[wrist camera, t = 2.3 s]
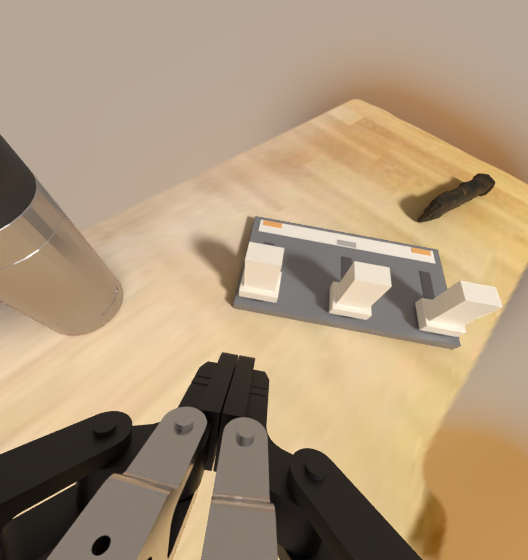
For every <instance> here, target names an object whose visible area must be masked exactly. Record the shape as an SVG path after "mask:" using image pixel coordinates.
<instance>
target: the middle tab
mask: <svg viewBox="0 0 528 560" xmlns="http://www.w3.org/2000/svg"><path fill="white" fill-rule="evenodd" d="M391 287H392V285H391V276H390V268H389V267H384V266H378V265H373V264H368V263H362V262H357V261H354V262H353V264H352V265H351V267H350V268H349V270H348V271H347V273H346V274H345V276H344V277H343V279H342V280H341V281H340V283H339V282H334V281H333V283H332V284H331V286H330V296H329V313H332V314H337V315H342V316H348V317H353V318H358V319H364V320H367V319H368V318H369V317H371V316H372V313H371V306H372V305H373V304H374V303H375V302H376V301H377V300H378V299H379V298H380V297H381V296H382V295H383V294H384V293H385V292H386V291H388V290H389V289H390V288H391Z"/></svg>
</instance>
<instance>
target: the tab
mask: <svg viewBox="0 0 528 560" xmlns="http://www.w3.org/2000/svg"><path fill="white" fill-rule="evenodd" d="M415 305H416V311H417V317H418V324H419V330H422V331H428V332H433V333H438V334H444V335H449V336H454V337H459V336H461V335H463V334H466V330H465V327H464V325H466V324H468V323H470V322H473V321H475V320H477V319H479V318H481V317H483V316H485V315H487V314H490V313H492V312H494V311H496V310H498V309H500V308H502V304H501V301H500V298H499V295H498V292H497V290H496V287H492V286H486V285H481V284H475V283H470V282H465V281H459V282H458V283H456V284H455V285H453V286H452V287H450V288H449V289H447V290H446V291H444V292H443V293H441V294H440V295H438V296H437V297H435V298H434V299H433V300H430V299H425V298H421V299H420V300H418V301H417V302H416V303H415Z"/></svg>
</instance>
